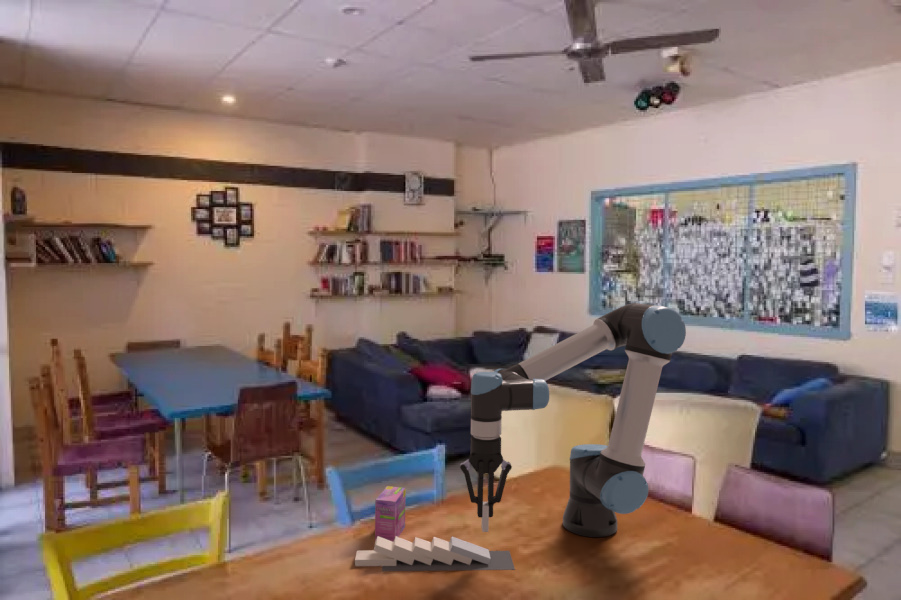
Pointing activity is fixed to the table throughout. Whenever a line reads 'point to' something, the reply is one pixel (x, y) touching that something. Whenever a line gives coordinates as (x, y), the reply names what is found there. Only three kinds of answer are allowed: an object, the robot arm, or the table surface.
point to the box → (390, 513)
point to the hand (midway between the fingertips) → (484, 529)
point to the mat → (458, 564)
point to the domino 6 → (469, 550)
